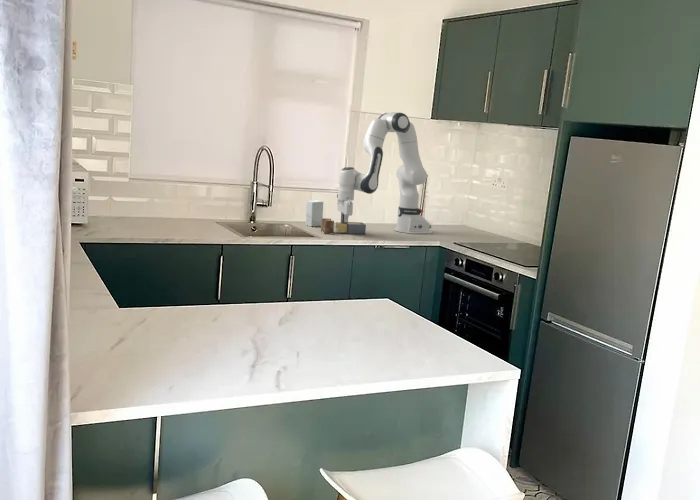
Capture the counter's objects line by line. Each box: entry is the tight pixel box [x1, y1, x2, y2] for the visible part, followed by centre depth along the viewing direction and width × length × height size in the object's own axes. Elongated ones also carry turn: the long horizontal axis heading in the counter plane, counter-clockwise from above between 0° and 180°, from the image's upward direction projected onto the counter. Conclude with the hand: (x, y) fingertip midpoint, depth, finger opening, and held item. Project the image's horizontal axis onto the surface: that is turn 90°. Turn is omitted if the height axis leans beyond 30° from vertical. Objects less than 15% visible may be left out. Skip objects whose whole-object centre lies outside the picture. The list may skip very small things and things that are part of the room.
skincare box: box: [305, 199, 324, 227], centre depth 413 cm, size 8×6×15 cm
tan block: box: [335, 214, 361, 233], centre depth 397 cm, size 14×4×9 cm, turn 105°
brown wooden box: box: [320, 217, 335, 234], centre depth 394 cm, size 5×9×7 cm, turn 15°
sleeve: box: [345, 221, 367, 236], centre depth 398 cm, size 10×8×6 cm
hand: (344, 221), depth 396 cm, fingers closed on tan block, 4 cm apart
